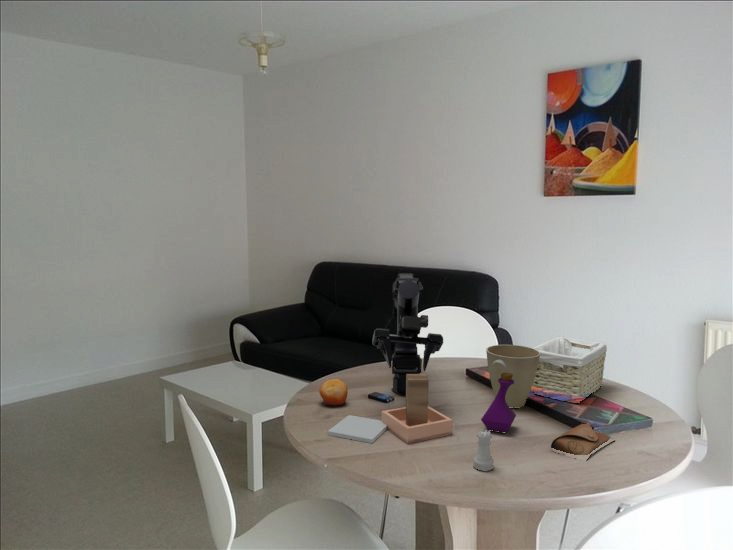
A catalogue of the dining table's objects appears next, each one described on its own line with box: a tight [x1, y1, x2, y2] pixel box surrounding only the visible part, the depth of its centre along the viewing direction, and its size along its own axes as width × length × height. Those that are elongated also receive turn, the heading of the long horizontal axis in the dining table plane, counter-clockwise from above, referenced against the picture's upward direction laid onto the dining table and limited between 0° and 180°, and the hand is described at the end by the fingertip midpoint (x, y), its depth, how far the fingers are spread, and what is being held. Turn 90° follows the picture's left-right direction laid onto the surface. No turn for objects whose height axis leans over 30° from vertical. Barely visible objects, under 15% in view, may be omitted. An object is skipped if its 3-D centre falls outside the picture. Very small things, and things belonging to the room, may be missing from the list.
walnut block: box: [405, 373, 429, 427], centre depth 138 cm, size 5×5×13 cm
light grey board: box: [327, 414, 388, 444], centre depth 138 cm, size 12×12×1 cm
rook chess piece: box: [472, 429, 495, 472], centre depth 118 cm, size 4×4×8 cm
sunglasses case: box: [550, 419, 612, 455], centre depth 130 cm, size 18×7×7 cm, turn 135°
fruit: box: [318, 378, 348, 406], centre depth 157 cm, size 8×8×8 cm
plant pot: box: [485, 344, 540, 408], centre depth 157 cm, size 15×15×16 cm
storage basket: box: [532, 336, 608, 397], centre depth 169 cm, size 24×16×15 cm
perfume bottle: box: [480, 360, 517, 433], centre depth 138 cm, size 8×8×18 cm
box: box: [381, 405, 454, 445], centre depth 138 cm, size 13×13×4 cm
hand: (407, 368), depth 144 cm, fingers open, 9 cm apart
